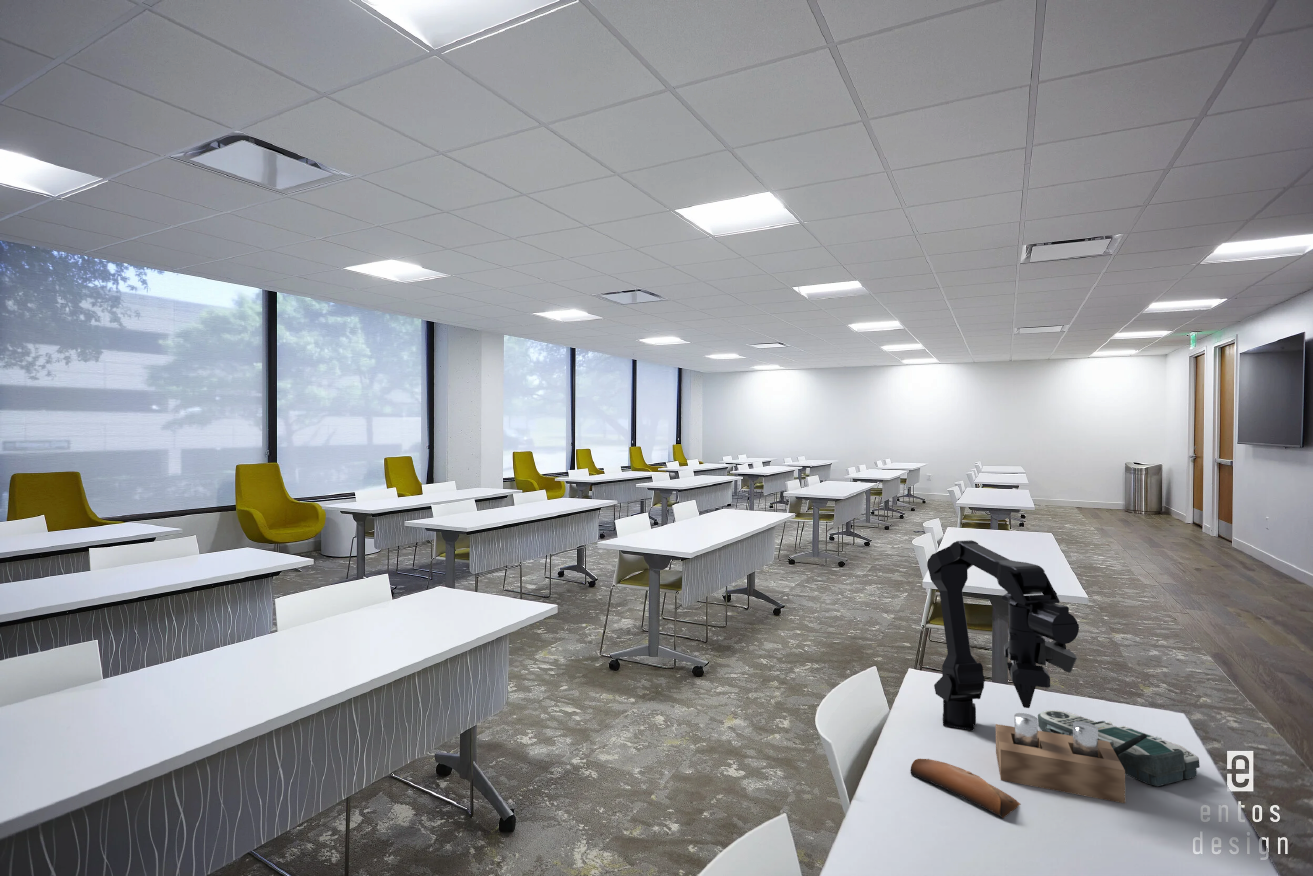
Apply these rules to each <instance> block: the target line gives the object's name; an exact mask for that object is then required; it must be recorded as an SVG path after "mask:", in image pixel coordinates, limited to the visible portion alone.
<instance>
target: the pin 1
mask: <svg viewBox="0 0 1313 876" xmlns="http://www.w3.org/2000/svg"><path fill="white" fill-rule="evenodd" d="M1014 727H1015V744H1017V745H1023V746H1029V747H1035V748H1038V731H1039V728H1038V727H1039V726H1038V717H1037V716H1035V715H1032V714H1030V713H1024V712H1018V713H1014Z"/></svg>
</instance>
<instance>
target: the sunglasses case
mask: <svg viewBox="0 0 1313 876" xmlns="http://www.w3.org/2000/svg"><path fill="white" fill-rule="evenodd" d="M910 774H911V776H913V777H916V778H918V779H922V780H924V781H926V782H928V783H931V784H934V785H935V786H939V787H942V788H943V789H944V790H947V791H949V792H951V793H953V794H955V795H957V796H959V797H962V798H964V799H966V800H968V801H969V802H971V803H974V804H975V805H978V806H980V807H981V808H983V809H985V810H988V811H990V812H992V813H994V814H995V815H997V816H999V817H1000V818H1001V819H1004V818H1005V817H1006V816H1008V815H1009V814H1011V813H1012V812H1013V811H1014V810H1016V809H1017V808H1018V807H1019V806H1020V805H1022V804H1021V802H1019V801H1018V800H1017V799H1016V798H1014V797H1013V796H1011V795H1010V794H1008V793H1006V792H1004V791H1003V790H1001V789H999V788H998V787H996V786H994V785H992V784H990V783H989V782H987V781H986V780H985V779H984V778H982V777H981V776H979V775H977V774H974V773H972V772H971V771H969V770H966V769H964V768H961V767H958V766H955V765H953V764H950V763H947V762H944V761H940V760H936V759H929V758H917V759H914V760H913V761H912V763H911V766H910Z"/></svg>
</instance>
